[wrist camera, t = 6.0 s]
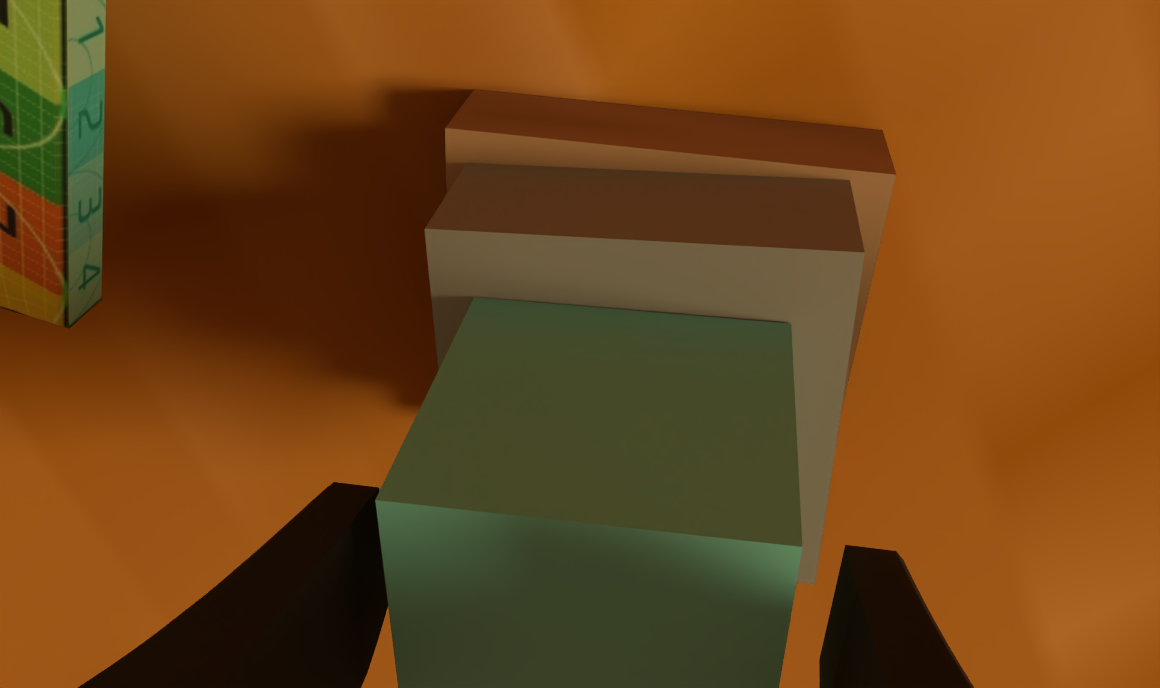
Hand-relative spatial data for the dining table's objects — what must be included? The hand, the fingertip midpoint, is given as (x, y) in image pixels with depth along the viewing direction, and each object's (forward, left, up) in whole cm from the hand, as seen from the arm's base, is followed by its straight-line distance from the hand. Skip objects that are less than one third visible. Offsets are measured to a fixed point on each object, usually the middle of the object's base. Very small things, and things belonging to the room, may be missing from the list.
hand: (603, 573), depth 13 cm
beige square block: (0, 0, -6) cm, 6 cm away
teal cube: (0, 0, -3) cm, 3 cm away
